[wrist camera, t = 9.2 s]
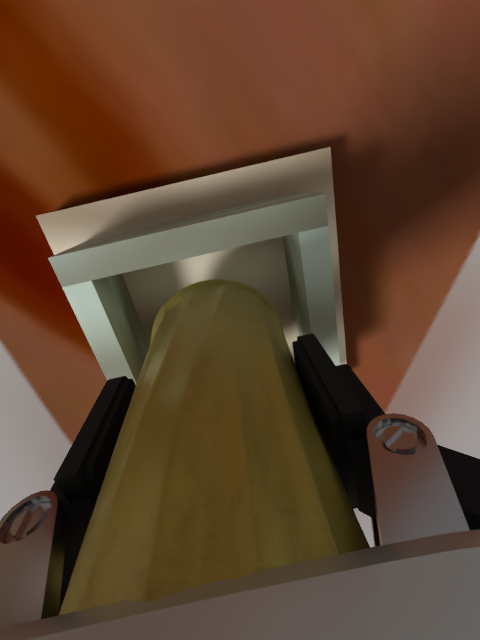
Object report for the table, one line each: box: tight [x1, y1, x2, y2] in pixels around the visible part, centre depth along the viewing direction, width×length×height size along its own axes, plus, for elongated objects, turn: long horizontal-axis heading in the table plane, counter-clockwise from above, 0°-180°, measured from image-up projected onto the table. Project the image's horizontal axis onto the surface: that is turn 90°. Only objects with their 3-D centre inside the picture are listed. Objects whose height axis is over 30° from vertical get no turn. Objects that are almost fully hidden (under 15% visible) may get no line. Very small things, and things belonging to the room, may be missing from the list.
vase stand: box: [36, 147, 347, 385], centre depth 16 cm, size 14×14×5 cm
